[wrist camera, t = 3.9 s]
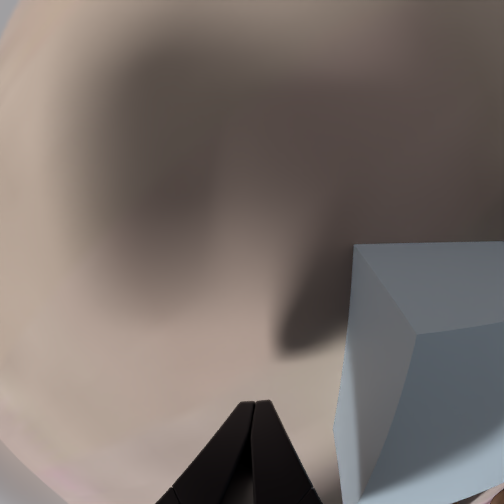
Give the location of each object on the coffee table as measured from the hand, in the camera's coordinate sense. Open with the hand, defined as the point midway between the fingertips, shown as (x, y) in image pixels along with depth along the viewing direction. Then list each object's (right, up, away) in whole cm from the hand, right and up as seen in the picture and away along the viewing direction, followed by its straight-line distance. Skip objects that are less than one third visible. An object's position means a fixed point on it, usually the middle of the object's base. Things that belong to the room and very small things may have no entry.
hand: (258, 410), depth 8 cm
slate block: (+7, +1, +1) cm, 7 cm away
